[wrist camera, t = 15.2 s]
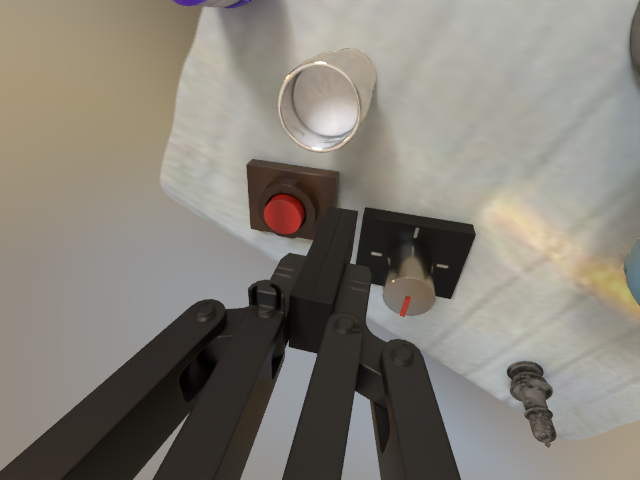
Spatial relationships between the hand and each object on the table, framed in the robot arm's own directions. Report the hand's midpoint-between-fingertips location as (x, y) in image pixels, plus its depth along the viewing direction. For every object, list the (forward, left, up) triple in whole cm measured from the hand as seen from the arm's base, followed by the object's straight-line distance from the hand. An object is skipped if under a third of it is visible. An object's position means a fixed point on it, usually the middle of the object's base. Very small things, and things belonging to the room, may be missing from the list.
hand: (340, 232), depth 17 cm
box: (+10, +13, -26) cm, 31 cm away
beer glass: (+4, -3, -27) cm, 27 cm away
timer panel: (-7, +18, -26) cm, 33 cm away
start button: (+10, +13, -23) cm, 28 cm away
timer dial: (-7, +18, -24) cm, 31 cm away
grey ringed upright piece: (-30, +38, -27) cm, 55 cm away
